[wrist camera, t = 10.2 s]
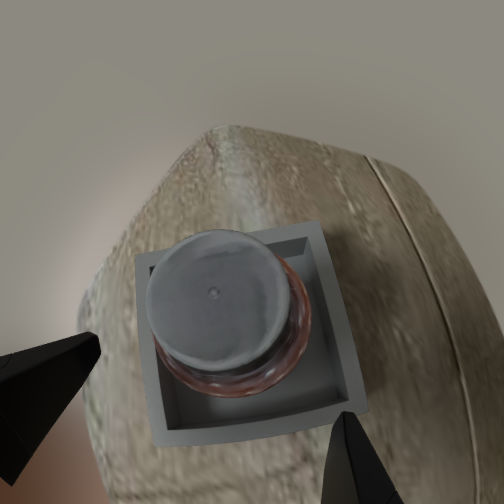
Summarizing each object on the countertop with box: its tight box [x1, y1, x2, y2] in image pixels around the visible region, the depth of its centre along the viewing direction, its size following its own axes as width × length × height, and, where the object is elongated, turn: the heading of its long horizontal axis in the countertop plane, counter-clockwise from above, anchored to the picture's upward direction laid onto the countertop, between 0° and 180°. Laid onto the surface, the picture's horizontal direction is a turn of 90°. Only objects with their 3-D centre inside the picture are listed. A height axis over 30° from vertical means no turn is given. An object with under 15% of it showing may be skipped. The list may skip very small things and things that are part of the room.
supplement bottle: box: [145, 229, 312, 398], centre depth 13 cm, size 6×6×11 cm
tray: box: [135, 220, 369, 447], centre depth 17 cm, size 12×12×4 cm
